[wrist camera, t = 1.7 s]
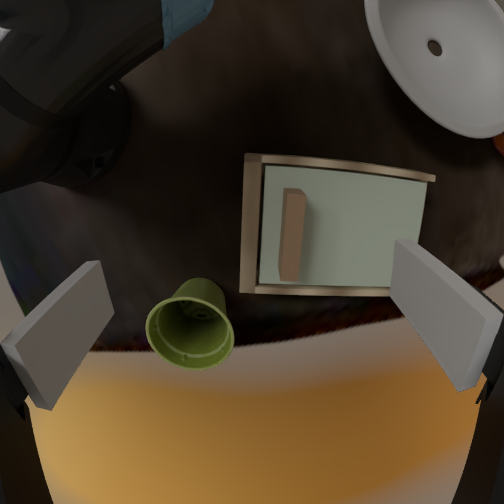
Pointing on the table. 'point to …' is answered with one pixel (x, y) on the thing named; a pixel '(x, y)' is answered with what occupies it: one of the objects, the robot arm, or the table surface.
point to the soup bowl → (445, 59)
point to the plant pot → (192, 327)
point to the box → (254, 215)
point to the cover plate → (335, 225)
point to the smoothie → (499, 142)
